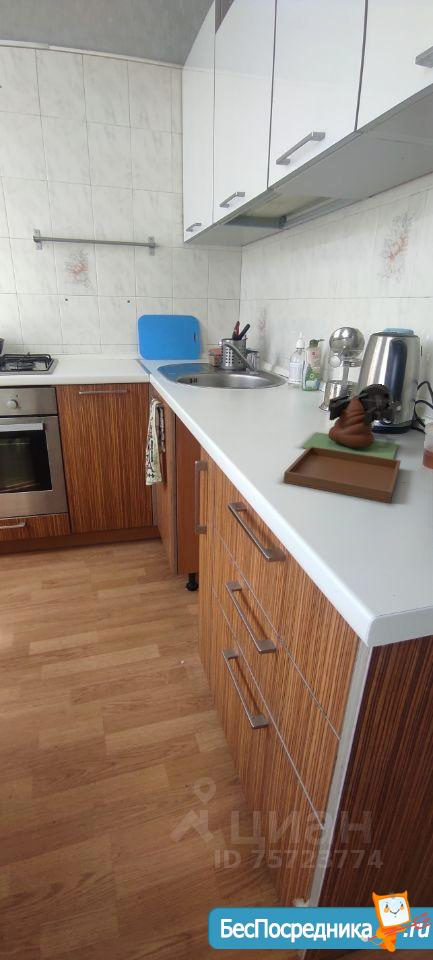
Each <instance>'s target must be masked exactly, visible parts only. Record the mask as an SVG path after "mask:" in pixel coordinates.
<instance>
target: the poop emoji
mask: <svg viewBox="0 0 433 960" xmlns="http://www.w3.org/2000/svg"><path fill="white" fill-rule="evenodd" d="M350 398H351V402H350V404H349V405H348V407H347V409H346V410H344V411H342V412H341V415H340V416H339V417H338V418H336V419H335V421H334V425H333V426H331V428H329V430H328V433H327V434H328V436H329V438H330V439H331V440H332V441H335V442H341V443H342V444H344V445H346V446H349V447H353V448H366V447H369V446H371V445H372V444H373V442H374V441H375V435H374V433H373V428H374V426H375V421H374V422H372V423H371V424H370V425H368V426H363V425H364V419H365V411H364V409H363V406H362V404H361V403H360V401H359V400H357V399H356V398H353V397H350Z"/></svg>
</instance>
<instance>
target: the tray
mask: <svg viewBox="0 0 433 960" xmlns="http://www.w3.org/2000/svg"><path fill="white" fill-rule="evenodd" d="M401 461H402V460H399V459H394V458H393V459H387V458H381V457H375V456H369V455H363V454H357V453H350V452H344V451H338V450H332V449H326V448H319V447H313V446H309V447H308V448H307V449H306V448H305V450H304V451H303V452H302V453H301V454H300V456H298V457H297V458H296V459H295V461H294V462H293V463H291V465H289V467H288V468H287V469H285V471H284V472H283V473H284V474H283V483H284V484H289V485H295V486H300V487H304V488H311V489H315V490H321V491H325V492H330V493H336V494H340V495H346V496H351V497H355V498H360V499H365V500H370V501H371V500H372V501H376V502H381V503H386V504H390V503H391V501H392V497H393V494H394V490H395V485H396V483H397V479H398V476H399V471H400V466H401Z"/></svg>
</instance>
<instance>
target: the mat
mask: <svg viewBox="0 0 433 960" xmlns="http://www.w3.org/2000/svg"><path fill="white" fill-rule="evenodd" d="M309 446H313V447H319V448H326V449H332V450H338V451H344V452H350V453H357V454H363V455H369V456H375V457H381V458H387V459H394V458H395V455H396V452H397V449H398V446H399V444H397V443H392V442H385V441H384V442H383V441H378V440H374V442H373V444H372V445H371V446H369V447H366V448H353V447H349V446H346V445H344V444H342V443H341V442H335V441H332V440H331V439H330V438H329V436H328V433H323V432H315V433H314V434H313V435H312V436H311V437H310V438H309V439H308V440H307V441H306V442H305V443H304V444H303V445H302V446H301V447H302V449H305V450H306V449H307V448H308V447H309Z"/></svg>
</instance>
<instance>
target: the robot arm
mask: <svg viewBox="0 0 433 960" xmlns="http://www.w3.org/2000/svg"><path fill="white" fill-rule="evenodd" d="M382 332H397V333H408V334H414V335H415V331H414V330H412V329H410V328H399V327H397V328H396V327H395V328H394V327H393V328H392V327H387V328H384V329H383V330H382ZM421 356H422V346H421ZM370 384H371V385H370ZM370 384H369V385H367V386H365V387H364V388H363V389H361V391H360V392H359V393H358V394H357V395H356V394H355V395H354V396H352V397H350V395H349V394H348V393H346V392H345V393H341V395H338V396H335V397H332V398H330V399H329V400H328V407H327V412H329V418H328V421H334V420H337V419H339V416H340V415H341V412H342V411H344V410H346V409H347V407H348V405H349V404H350V402H351V398H356V399H357V400H359V401H360V403H361V404H362V406H363V409H364V411H365V419H364V425H363V426H368V425H370V424H371V423H372V422H374V423H375V421H376V422H379V421H382V420H383V419H385V421H387V422H392V421H393V419H395V417H396V415H398V414H401V409H402V405H403V401H396V402H393V396H392V393H391V391H390V390H389V389H388V388H387V387H386V386H384V385H382V384H372V383H370Z"/></svg>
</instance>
